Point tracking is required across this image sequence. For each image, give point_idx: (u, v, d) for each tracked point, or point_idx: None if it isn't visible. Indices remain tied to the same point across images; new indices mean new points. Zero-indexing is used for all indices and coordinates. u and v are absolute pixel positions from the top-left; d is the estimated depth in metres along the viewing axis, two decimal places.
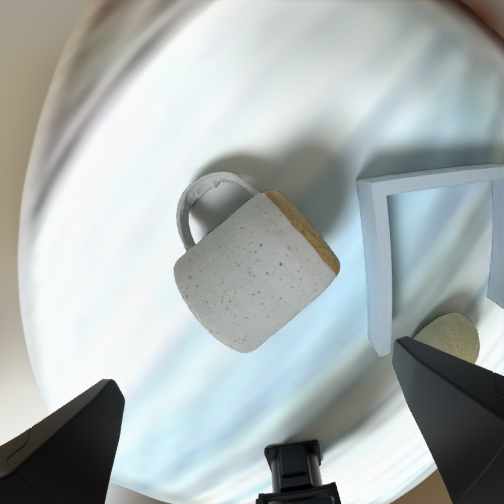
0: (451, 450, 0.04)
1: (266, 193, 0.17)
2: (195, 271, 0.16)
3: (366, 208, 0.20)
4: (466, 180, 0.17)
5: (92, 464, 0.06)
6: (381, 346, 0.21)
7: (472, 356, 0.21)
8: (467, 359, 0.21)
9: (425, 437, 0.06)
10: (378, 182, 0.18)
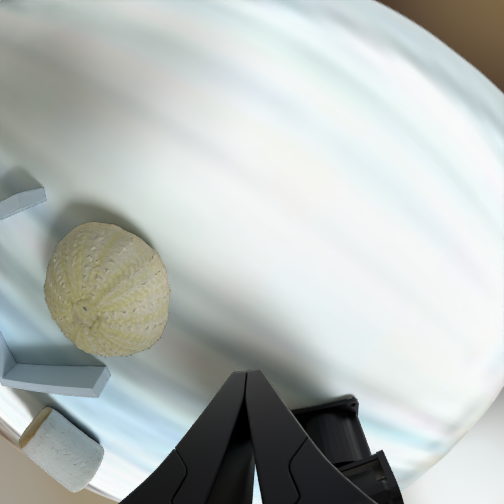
0: None
1: None
2: None
3: None
4: None
5: (245, 474, 0.05)
6: (86, 395, 0.18)
7: (63, 278, 0.14)
8: (64, 295, 0.14)
9: None
10: (0, 380, 0.19)
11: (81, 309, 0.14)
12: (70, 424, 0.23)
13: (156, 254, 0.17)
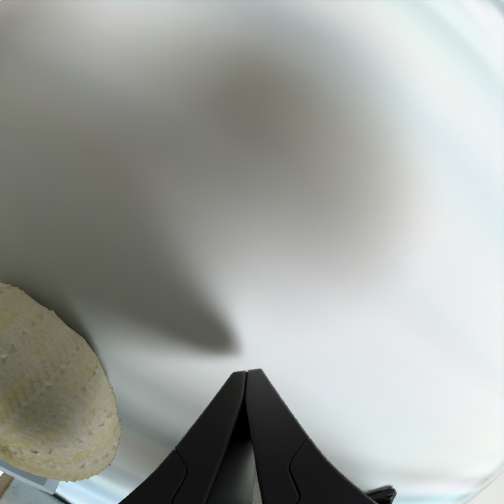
0: None
1: None
2: None
3: None
4: None
5: (245, 474, 0.05)
6: (40, 488, 0.09)
7: None
8: None
9: None
10: None
11: None
12: (37, 491, 0.13)
13: (78, 350, 0.07)
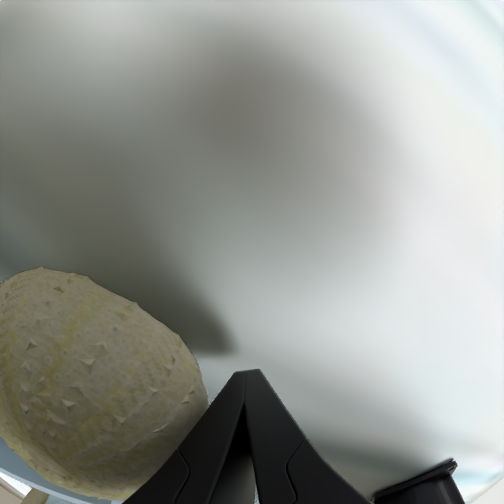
0: None
1: None
2: None
3: None
4: None
5: (248, 474, 0.05)
6: None
7: None
8: (3, 423, 0.05)
9: None
10: None
11: (39, 453, 0.05)
12: None
13: (179, 346, 0.07)
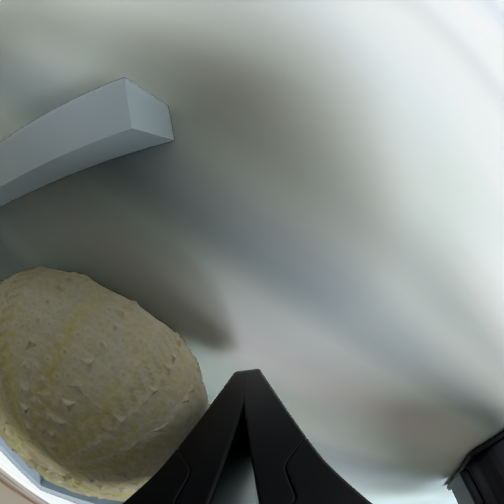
0: None
1: None
2: None
3: None
4: None
5: (248, 474, 0.05)
6: None
7: None
8: (3, 423, 0.05)
9: None
10: None
11: (38, 452, 0.05)
12: None
13: (179, 344, 0.07)
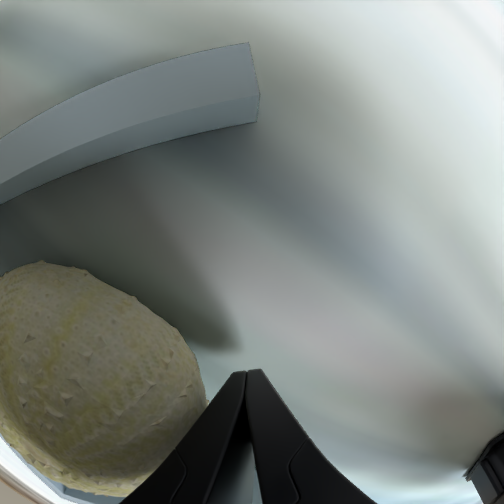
0: None
1: None
2: None
3: None
4: None
5: (245, 474, 0.05)
6: None
7: None
8: (1, 417, 0.05)
9: None
10: (56, 492, 0.09)
11: (36, 447, 0.05)
12: None
13: (177, 339, 0.07)
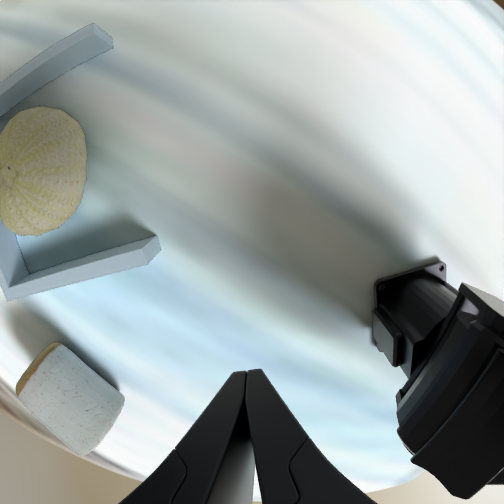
0: None
1: None
2: None
3: None
4: None
5: (245, 474, 0.05)
6: (130, 266, 0.16)
7: None
8: None
9: None
10: (5, 294, 0.17)
11: (6, 170, 0.13)
12: (83, 362, 0.21)
13: (76, 121, 0.15)
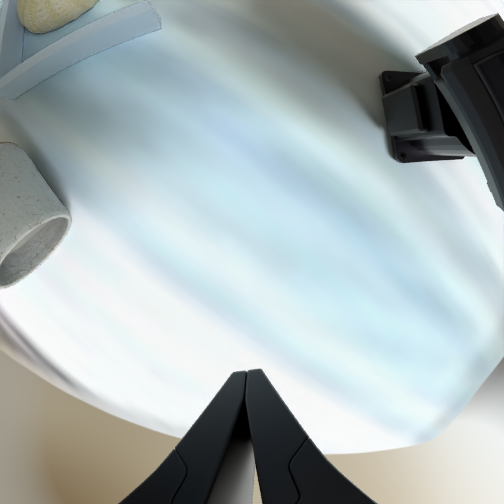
0: None
1: None
2: None
3: (17, 87, 0.14)
4: (5, 12, 0.10)
5: (245, 474, 0.05)
6: (131, 14, 0.12)
7: None
8: None
9: None
10: None
11: None
12: None
13: None
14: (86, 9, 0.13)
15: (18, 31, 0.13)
